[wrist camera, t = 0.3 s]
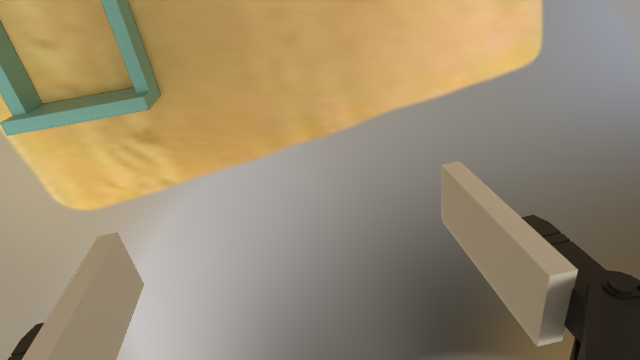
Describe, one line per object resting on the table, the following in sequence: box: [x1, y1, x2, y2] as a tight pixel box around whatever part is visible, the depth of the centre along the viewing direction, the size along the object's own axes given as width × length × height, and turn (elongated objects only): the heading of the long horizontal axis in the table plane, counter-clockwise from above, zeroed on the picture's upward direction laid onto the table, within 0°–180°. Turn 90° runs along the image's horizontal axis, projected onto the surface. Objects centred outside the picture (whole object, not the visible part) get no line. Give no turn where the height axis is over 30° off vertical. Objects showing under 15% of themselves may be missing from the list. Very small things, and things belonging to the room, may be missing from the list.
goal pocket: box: [0, 0, 161, 136], centre depth 34 cm, size 10×12×5 cm
